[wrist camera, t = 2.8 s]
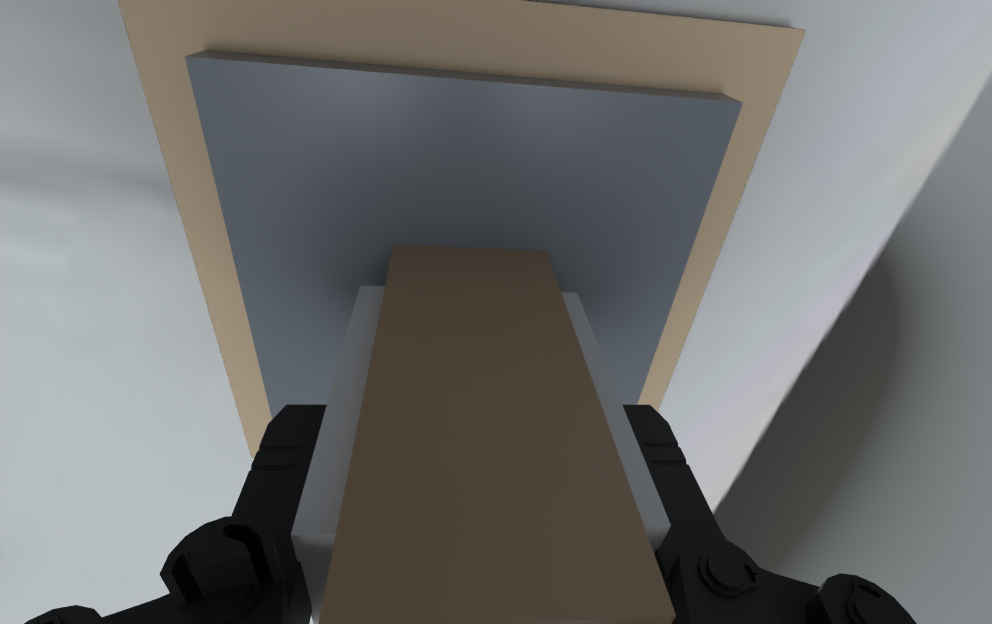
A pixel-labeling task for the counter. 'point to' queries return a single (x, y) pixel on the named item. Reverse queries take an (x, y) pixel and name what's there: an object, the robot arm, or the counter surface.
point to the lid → (465, 313)
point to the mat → (454, 47)
